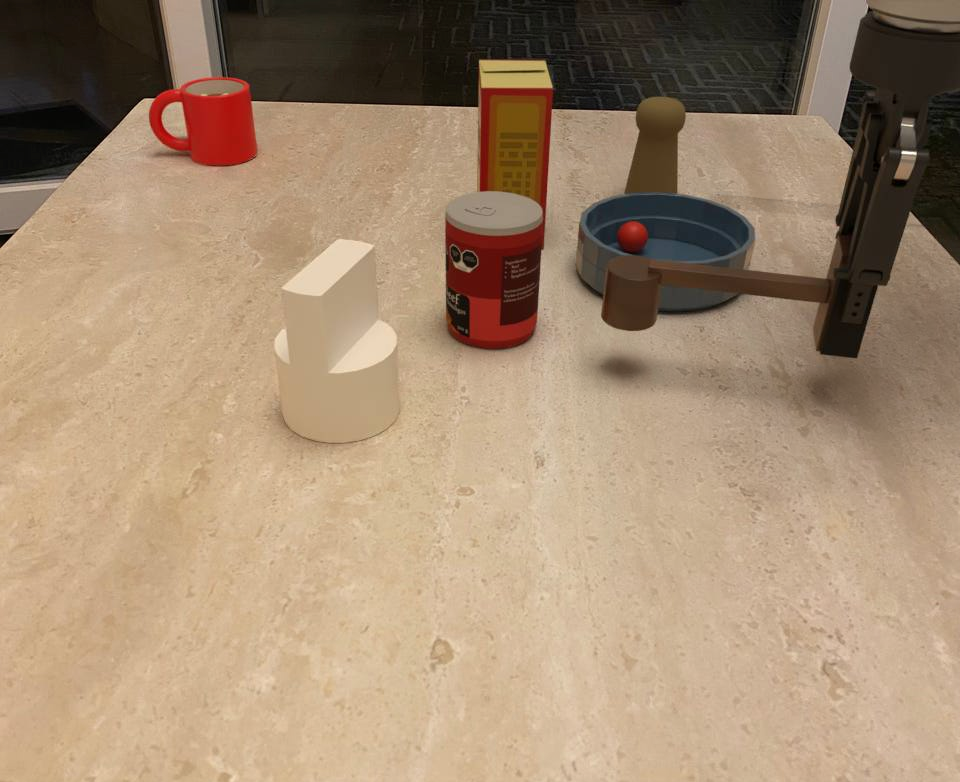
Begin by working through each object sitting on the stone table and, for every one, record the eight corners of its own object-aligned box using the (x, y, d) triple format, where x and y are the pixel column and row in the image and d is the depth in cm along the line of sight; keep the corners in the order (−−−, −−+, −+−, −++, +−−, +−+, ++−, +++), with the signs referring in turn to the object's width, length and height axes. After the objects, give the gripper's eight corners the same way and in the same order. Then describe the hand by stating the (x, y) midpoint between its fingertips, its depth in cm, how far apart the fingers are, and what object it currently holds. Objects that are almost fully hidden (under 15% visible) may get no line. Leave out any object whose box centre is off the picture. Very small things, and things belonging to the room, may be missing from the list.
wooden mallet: (850, 330, 79) (878, 236, 74) (856, 358, 76) (886, 261, 71) (603, 301, 82) (614, 208, 77) (598, 327, 79) (609, 231, 74)
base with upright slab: (369, 453, 73) (360, 306, 65) (260, 427, 75) (239, 282, 68) (417, 391, 79) (414, 251, 72) (316, 369, 82) (303, 231, 74)
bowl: (744, 247, 102) (753, 200, 99) (746, 323, 89) (757, 272, 86) (585, 232, 104) (589, 185, 101) (566, 304, 91) (570, 253, 88)
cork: (662, 188, 114) (675, 88, 107) (687, 208, 109) (702, 106, 103) (613, 193, 112) (624, 93, 106) (637, 214, 108) (649, 111, 101)
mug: (159, 145, 122) (146, 78, 117) (258, 141, 124) (250, 75, 119) (151, 168, 116) (138, 99, 111) (256, 164, 117) (248, 96, 113)
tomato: (634, 262, 98) (658, 242, 98) (619, 239, 96) (643, 219, 96) (622, 254, 100) (645, 234, 100) (606, 232, 99) (630, 211, 99)
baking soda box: (543, 249, 101) (553, 84, 91) (478, 248, 100) (481, 84, 91) (537, 211, 108) (545, 56, 98) (476, 211, 108) (479, 55, 98)
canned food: (448, 306, 91) (447, 189, 84) (536, 308, 91) (542, 191, 84) (443, 349, 85) (442, 226, 78) (537, 352, 85) (544, 229, 78)
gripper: (850, -16, 70) (781, 287, 85) (878, 46, 57) (791, 391, 72) (961, -9, 69) (873, 296, 84) (1016, 56, 56) (900, 403, 71)
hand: (835, 339), depth 78 cm, fingers closed on wooden mallet, 4 cm apart
